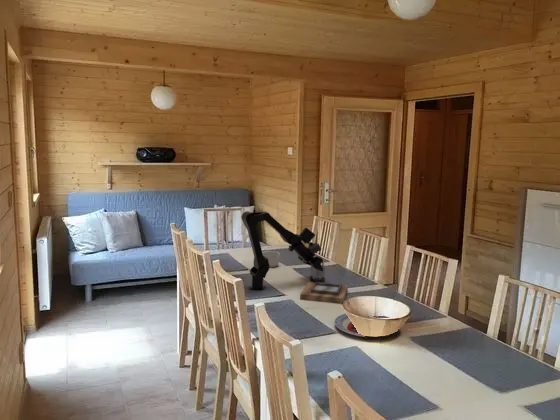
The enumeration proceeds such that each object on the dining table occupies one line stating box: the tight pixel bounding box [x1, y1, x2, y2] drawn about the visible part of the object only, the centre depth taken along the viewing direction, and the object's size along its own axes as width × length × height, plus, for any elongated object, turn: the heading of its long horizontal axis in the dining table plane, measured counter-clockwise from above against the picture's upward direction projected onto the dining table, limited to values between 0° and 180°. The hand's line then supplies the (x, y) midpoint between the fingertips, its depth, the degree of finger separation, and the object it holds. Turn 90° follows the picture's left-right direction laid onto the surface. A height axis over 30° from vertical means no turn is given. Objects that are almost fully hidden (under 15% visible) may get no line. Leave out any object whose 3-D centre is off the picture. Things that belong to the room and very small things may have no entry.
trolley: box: [309, 257, 326, 283], centre depth 252 cm, size 6×6×12 cm
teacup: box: [262, 250, 281, 268], centre depth 281 cm, size 14×11×8 cm
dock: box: [299, 281, 349, 304], centre depth 231 cm, size 20×20×4 cm
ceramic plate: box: [334, 313, 390, 338], centre depth 191 cm, size 26×26×3 cm
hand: (319, 269), depth 253 cm, fingers closed on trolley, 6 cm apart
